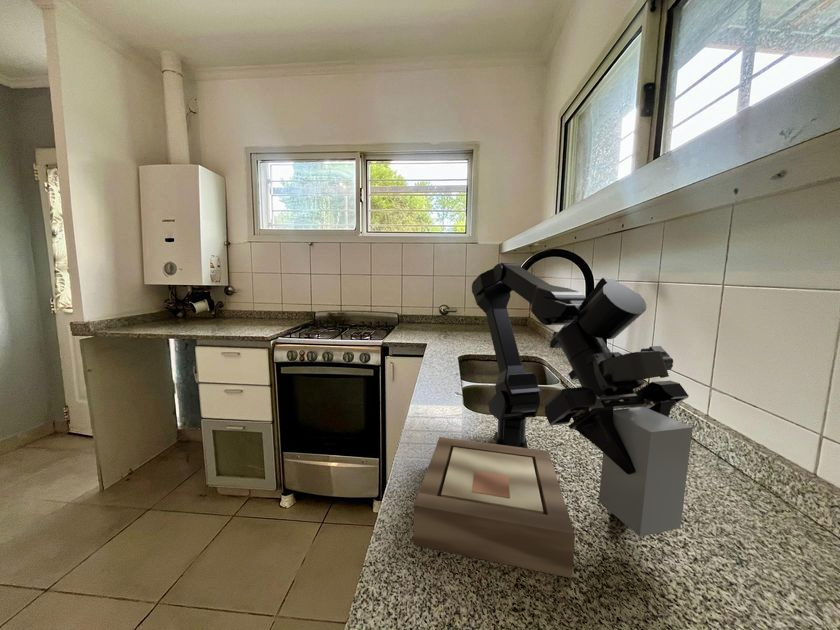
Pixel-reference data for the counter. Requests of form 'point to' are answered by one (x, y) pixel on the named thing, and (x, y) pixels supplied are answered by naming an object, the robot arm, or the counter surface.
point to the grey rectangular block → (648, 471)
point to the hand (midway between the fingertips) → (653, 469)
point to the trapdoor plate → (492, 480)
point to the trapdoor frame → (496, 517)
